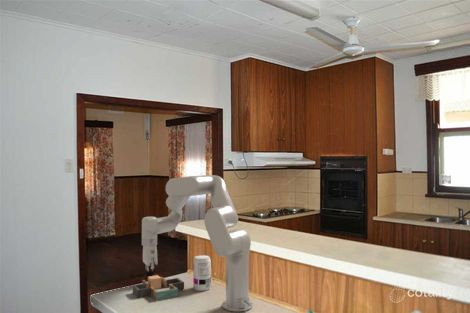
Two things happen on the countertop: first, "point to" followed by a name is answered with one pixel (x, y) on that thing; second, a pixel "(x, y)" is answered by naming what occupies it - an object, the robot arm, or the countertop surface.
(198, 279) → the supplement can
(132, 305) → the countertop surface
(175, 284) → the trap channel
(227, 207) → the robot arm
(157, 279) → the block
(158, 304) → the countertop surface
